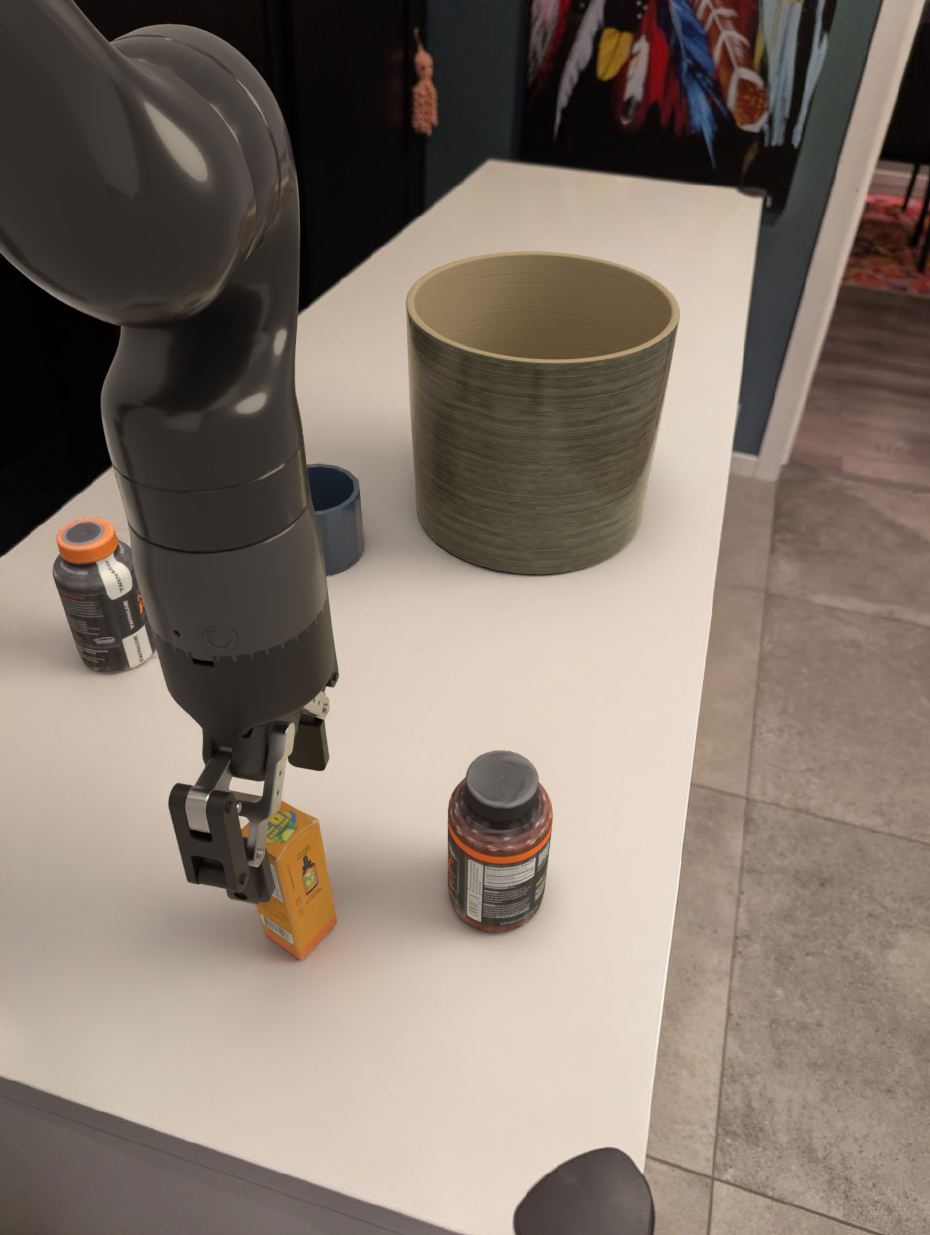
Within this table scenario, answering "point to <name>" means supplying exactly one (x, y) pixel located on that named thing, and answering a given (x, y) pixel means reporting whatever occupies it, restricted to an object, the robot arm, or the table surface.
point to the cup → (337, 515)
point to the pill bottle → (101, 596)
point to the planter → (536, 405)
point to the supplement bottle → (498, 842)
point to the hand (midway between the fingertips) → (282, 825)
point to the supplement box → (296, 882)
